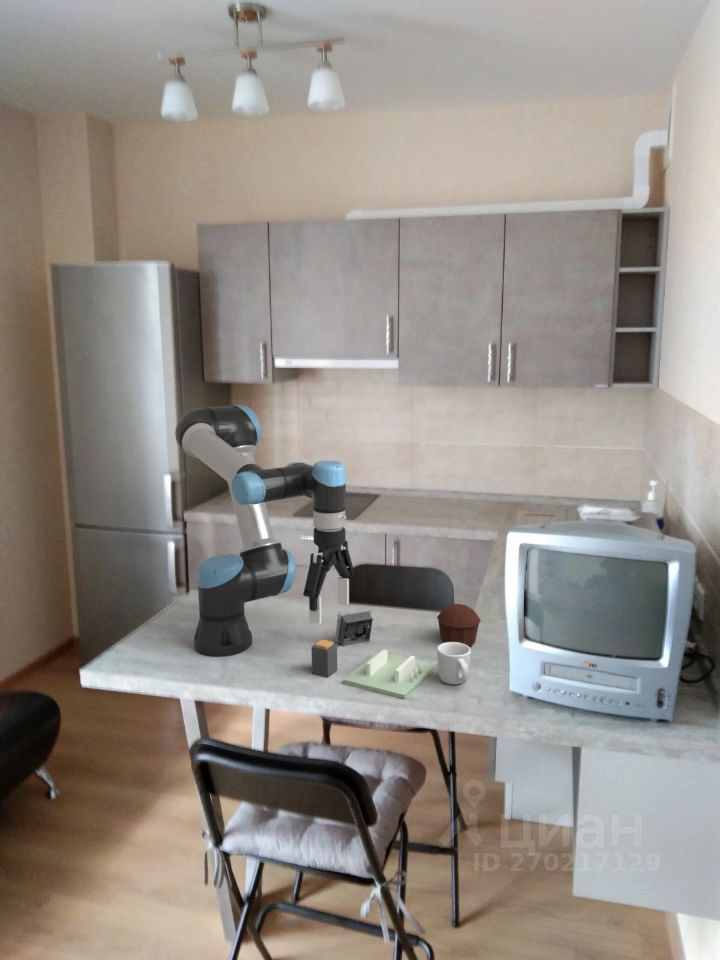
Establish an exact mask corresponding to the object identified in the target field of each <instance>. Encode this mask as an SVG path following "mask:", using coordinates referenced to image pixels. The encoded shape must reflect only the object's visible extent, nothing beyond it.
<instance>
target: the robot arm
mask: <svg viewBox="0 0 720 960" xmlns="http://www.w3.org/2000/svg"><path fill="white" fill-rule="evenodd" d="M261 432H262V427H261V424H260V421H259V417H258V416H257V414H256V413H255V411H254V410H253V409H252V408H250V407H249V406H246V405H236V404H230V405H224V406H223V405H221V406H209V407H196V408H194V409H191V410H189V411H187V412H186V413H185V414H183V415H182V416H181V417H180V419H179V420H178V422H177V424H176V427H175V432H174V434H175V435H174V436H175V440H176V443H177V445H178V447H179V448H180V450H182V451H183V452H184V453H185V455H187V456H189V457H191V458H195V459H196V458H197V459H199V460H200V461H201V462H203V464H204V465H206V466H208V467H209V469H211V470H212V471H214V472H215V473H216V474H217V475H219V476H220V477H221V478H223V480H225V481H226V482H227V484H228V488H229V492H230V497H231V502H232V505H233V506H232V507H233V510H234V513H235V518H236V522H237V526H238V531H239V534H240V535H239V536H240V537H241V542H242V547H241V549H240V551H239V552H238V553H239V555H238V554H237V553H227V554H218V555H214V556H211V557H209V558H207V559H205V560H203V561H202V562H201V564H200V565H199V566H198V568H197V580H196V584H197V591H198V592H197V593H198V594H197V595H198V607H199V608H198V610H199V612H198V613H199V620H198V622H197V627H196V630H195V634H194V637H193V647H194V648H193V649H194V651H195V652H198V653H199V654H201V655H203V656H204V655H205V656H210V657H227V656H228V657H229V656H232V655H237V654H240V653H242V652H245V651H247V650H248V649H249V648H250V647H251V646H252V644H253V634H252V631H251V630H250V628H249V627H250V626H249V624H248V621H247V618H246V614H245V604H246V603H250V602H253V601H257V600H261V599H266V598H269V597H275V596H279V595H280V594H283V593H286V592H288V591H290V589H291V588H292V587H293V586H294V585H293V584H294V583H295V581H296V575H297V571H296V570H297V569H296V563H295V562H296V561H295V558H294V556H293V554H292V553H291V552H290V551H289V550H288V549H286V548H283V547H282V546H283V545H282V543H281V541H279V540H278V539H276V538H275V537H274V533H273V529H272V525H271V520H270V517H269V514H268V513H269V512H268V509H267V505H266V503H268V502H274V501H279V500H286V499H292V498H298V497H307V498H309V499H312V501H313V502H312V503H313V505H312V507H313V509H312V511H313V512H312V513H313V516H312V517H313V519H312V520H313V521H312V523H313V524H312V526H313V527H314V528H313V543H314V544H315V546H317V547H318V548H317V549H318V551H317V553H311V554H310V556H309V557H310V558H309V567H308V571H307V575H306V581H305V584H304V585H305V586H304V590H303V592H302V593H303V594H302V595H303V597H306V598H308V599H309V600H308V601H309V602H308V603H309V604H308V605H309V607H308V608H309V623H312V624H317V625H321V624H322V596H320V595H321V594H320V593H321V591H322V588H323V585H324V582H325V580H326V576H327V573H328V572H330V571H331V568H332V567H334V569H335V570H336V572H337V574H338V576H339V577H337V603H338V604H340V605H341V604H342V605H346V606H348V605H349V603H350V593H349V592H350V579H353V577H354V571H355V569H354V565H353V562H352V558H351V555H350V551H349V546H348V540H346V528H345V527H346V519H347V516H346V496H347V495H346V492H347V491H346V486H347V485H346V483H347V477H346V467H345V465H344V463H342V461H336V460H320V461H316V462H315V463H314V464H313V465H311V464H308V463H305V462H303V461H302V462H298V461H294V462H293V461H292V462H290V463H288V464H287V465H285V466H283V467H282V466H281V467H275V468H267V469H265V468H264V469H263V468H262V467H261V466H260V465H258V464H257V463H256V460H255V457H254V454H255V453H256V451H257V449H258V447H257V444H258V443H259V442H260V440H261V436H262V435H261Z"/></svg>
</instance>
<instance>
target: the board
mask: <svg viewBox="0 0 720 960" xmlns="http://www.w3.org/2000/svg"><path fill="white" fill-rule="evenodd" d="M437 667H438V663H433V662H429V661H424V660H420V659H416V656H414V655H410V656H409V657H406V656H402V655H399V654H393V653H389V652H388V650H387V649H383V650H382V651H381V650H377V652H375V653H374V654H373V655H372V656H371V657H369V658H368V659H367V660H366V661H364V662H363V663H362V664H361V665H359V666H357V668H356V669H355V670H353V671H352V672H351V673H350V674H348V675H347V676H346V677H344V679H343V684H345V685H347V686H352V687H356V688H360V689H364V690H367V691H370V692H376V693H379V694H383V695H387V696H390V697H395V698H397V699H398V698H399V699H403V700H406V699H407V697H409V696H410V695H411V694H412V693H413V692H414V691H415V690H416V689H417V688H419V686H420V685H421V684H422V683H423V682H424V681H425V680H426V679H427V678H428V677H429V676H430V675H431V674H432V673H433V672H434V671H435V670H436V669H437ZM411 692H412V693H411ZM408 695H409V696H408Z"/></svg>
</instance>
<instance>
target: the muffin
mask: <svg viewBox="0 0 720 960" xmlns="http://www.w3.org/2000/svg"><path fill="white" fill-rule="evenodd" d="M436 618H437V622H438V627H439V635H440V641H441V644H442V643H446V642H458V643H462V644H465V645H467V646H469V647H470V648H472V647H473V646H474V645H475V644H476V640H477V634H478V630H479V627H480V626H479V624H480V623H481V622H482V620H481V618H480V616H478V614H477V612H476V611H475V610H474V609H473V608H471V607H469V606H468V605H466V604H463V603H462V604H461V603H453V604H450V605H447V606H445V607H444V608H443V609H442V610H441V611H440V612H439V614H438V615H437V617H436Z"/></svg>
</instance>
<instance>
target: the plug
mask: <svg viewBox="0 0 720 960" xmlns="http://www.w3.org/2000/svg"><path fill="white" fill-rule="evenodd" d="M310 649H311V674H312V675H315V676H319V677H323V678H326V679H328V678H330V677H331V676H332V675H333V674H335V673H336V672H337V671H338V643H337V642H336V643H335V642H334V641H331V640H327V639H320V640H319V641H318V642H316V643H315V644H313V645H312V646H311V648H310Z"/></svg>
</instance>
